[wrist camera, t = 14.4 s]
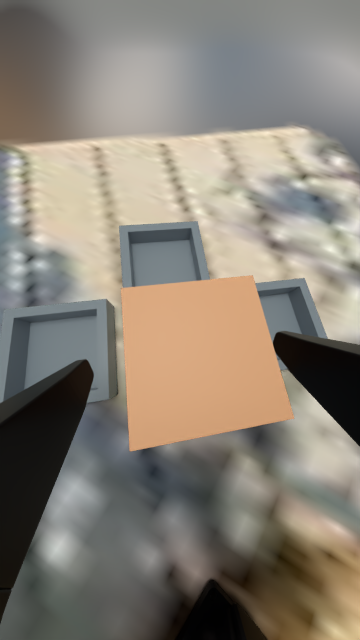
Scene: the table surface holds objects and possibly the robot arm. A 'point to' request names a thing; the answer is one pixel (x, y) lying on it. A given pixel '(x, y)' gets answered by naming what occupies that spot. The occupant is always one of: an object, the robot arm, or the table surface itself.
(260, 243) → the table surface
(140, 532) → the table surface
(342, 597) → the table surface
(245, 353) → the orange block
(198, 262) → the tray
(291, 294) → the empty tray
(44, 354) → the empty tray
